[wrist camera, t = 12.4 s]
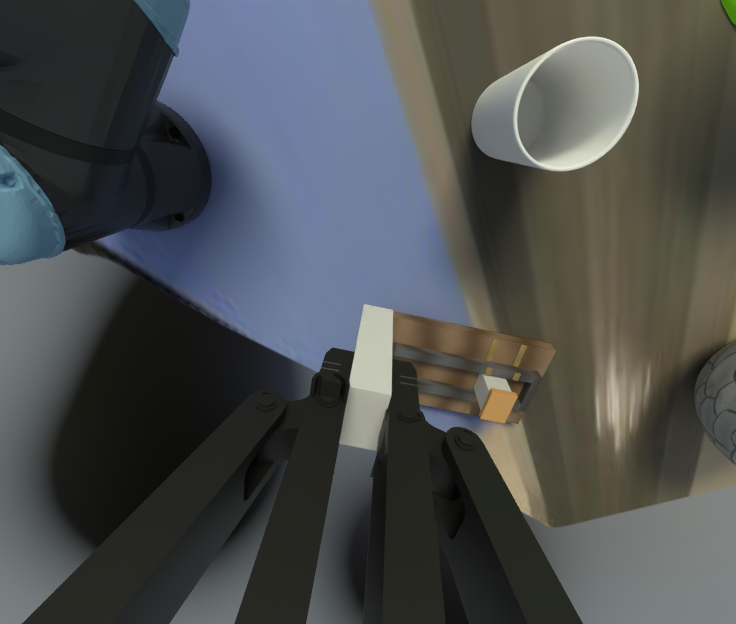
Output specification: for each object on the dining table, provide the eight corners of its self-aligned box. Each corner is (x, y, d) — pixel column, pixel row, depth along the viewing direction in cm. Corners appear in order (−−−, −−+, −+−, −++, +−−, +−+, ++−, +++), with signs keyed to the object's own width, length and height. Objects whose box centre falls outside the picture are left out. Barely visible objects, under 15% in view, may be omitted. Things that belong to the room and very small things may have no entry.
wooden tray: (369, 386, 57) (368, 401, 53) (388, 310, 50) (387, 322, 47) (514, 415, 57) (521, 432, 54) (550, 343, 51) (561, 357, 48)
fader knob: (472, 391, 53) (480, 418, 48) (482, 365, 51) (492, 391, 46) (493, 395, 53) (504, 423, 48) (505, 370, 51) (517, 396, 46)
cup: (550, 148, 40) (635, 154, 26) (476, 168, 41) (518, 184, 27) (546, 63, 36) (643, 16, 22) (466, 88, 38) (508, 59, 24)
